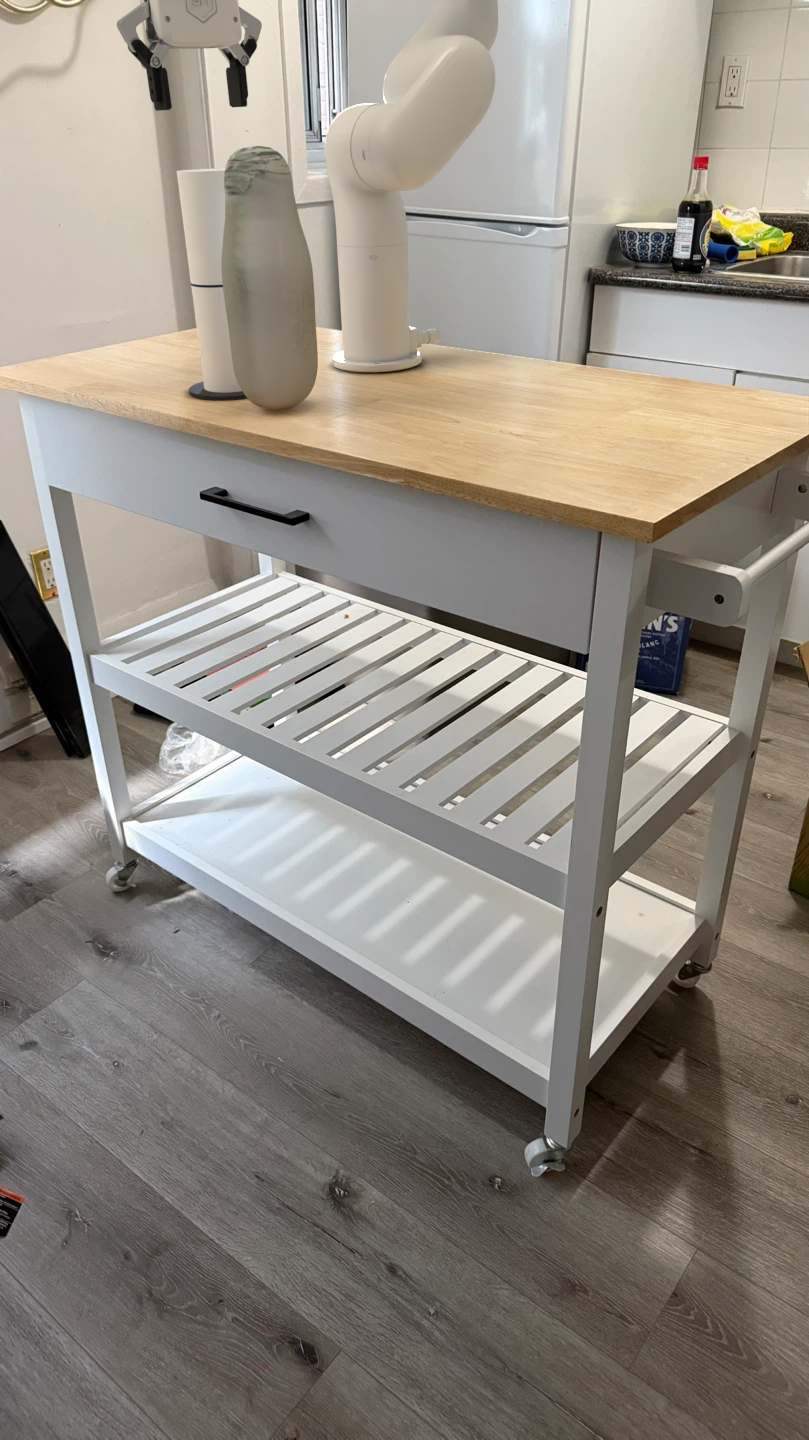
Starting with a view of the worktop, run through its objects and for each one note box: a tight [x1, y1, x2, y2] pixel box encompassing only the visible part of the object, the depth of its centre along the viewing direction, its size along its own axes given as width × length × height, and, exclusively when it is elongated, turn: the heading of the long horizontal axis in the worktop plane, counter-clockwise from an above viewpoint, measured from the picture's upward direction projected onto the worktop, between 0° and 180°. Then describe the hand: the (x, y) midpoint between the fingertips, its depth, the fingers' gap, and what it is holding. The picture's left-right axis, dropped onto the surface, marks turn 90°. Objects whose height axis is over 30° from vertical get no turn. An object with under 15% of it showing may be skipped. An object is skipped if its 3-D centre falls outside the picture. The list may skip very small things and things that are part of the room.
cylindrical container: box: [176, 167, 242, 393], centre depth 128 cm, size 7×7×25 cm
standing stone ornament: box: [221, 145, 319, 411], centre depth 119 cm, size 10×10×28 cm
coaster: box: [188, 381, 248, 401], centre depth 134 cm, size 11×11×1 cm
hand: (201, 108), depth 119 cm, fingers open, 9 cm apart
